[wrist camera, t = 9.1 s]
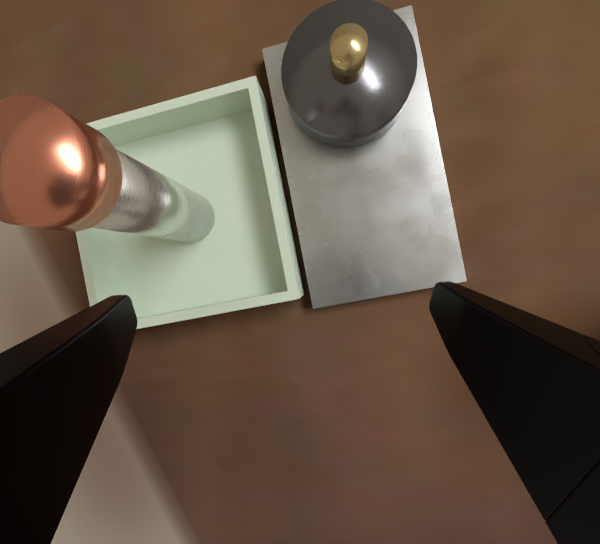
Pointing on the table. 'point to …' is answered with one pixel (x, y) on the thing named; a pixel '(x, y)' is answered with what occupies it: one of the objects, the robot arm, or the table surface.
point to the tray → (224, 199)
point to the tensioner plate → (362, 154)
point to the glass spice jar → (86, 179)
